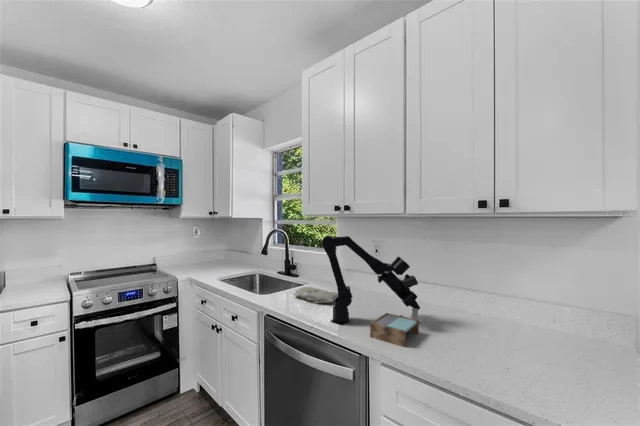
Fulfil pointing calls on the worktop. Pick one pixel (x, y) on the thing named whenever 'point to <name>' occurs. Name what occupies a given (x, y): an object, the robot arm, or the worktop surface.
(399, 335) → the walnut stand
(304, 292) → the fossil stone
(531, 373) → the worktop surface
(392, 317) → the trapdoor flap
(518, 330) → the worktop surface
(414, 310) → the rook chess piece
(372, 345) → the worktop surface
